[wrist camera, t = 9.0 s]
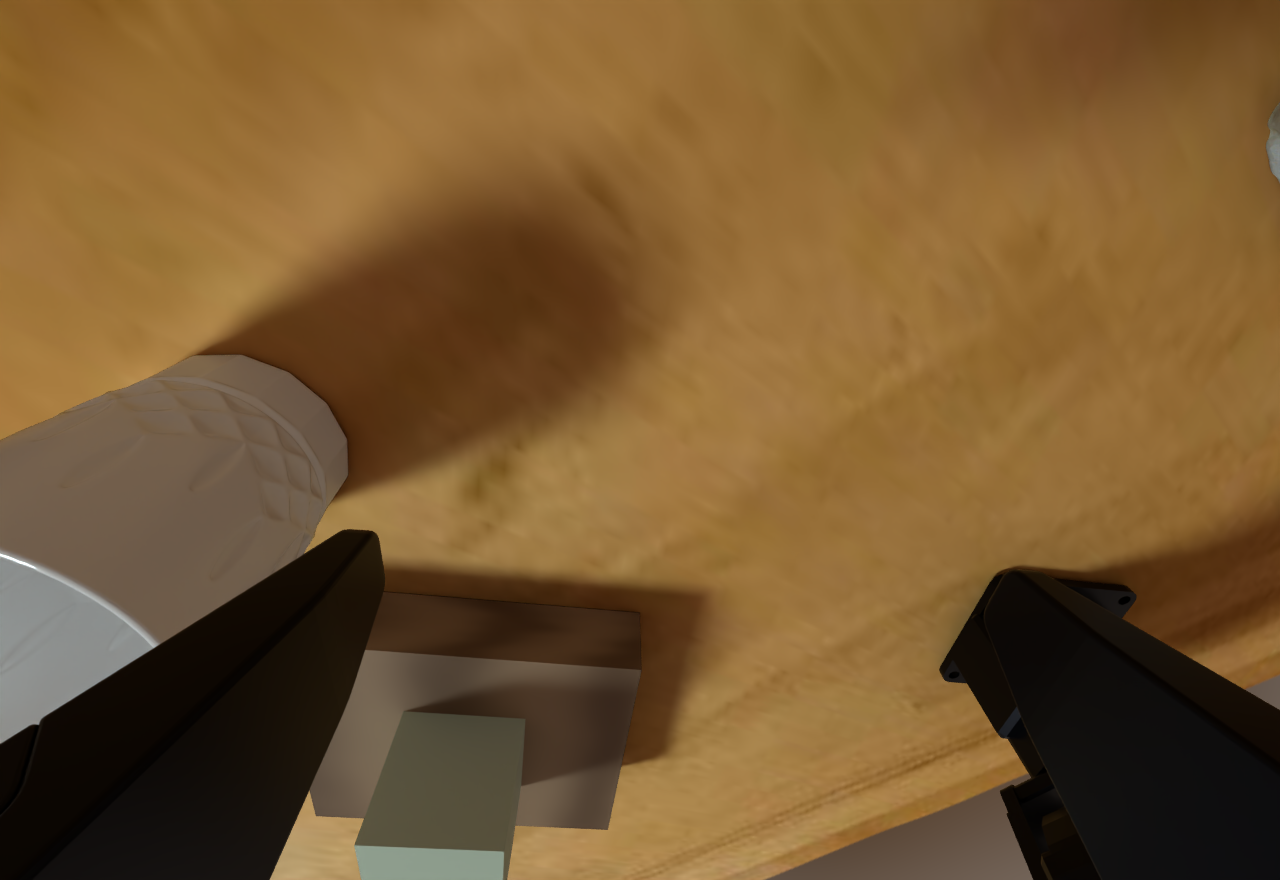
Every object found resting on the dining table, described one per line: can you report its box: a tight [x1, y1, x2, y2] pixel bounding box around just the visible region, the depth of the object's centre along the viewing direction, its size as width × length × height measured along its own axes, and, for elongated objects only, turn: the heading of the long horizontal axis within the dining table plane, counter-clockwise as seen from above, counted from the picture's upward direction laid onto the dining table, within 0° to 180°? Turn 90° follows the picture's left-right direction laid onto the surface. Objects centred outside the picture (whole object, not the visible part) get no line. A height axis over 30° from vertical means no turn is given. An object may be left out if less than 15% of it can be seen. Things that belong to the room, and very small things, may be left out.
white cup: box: [0, 355, 348, 744], centre depth 16 cm, size 8×8×10 cm
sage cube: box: [354, 711, 525, 880], centre depth 23 cm, size 5×5×5 cm
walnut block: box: [310, 592, 642, 830], centre depth 26 cm, size 14×12×3 cm
